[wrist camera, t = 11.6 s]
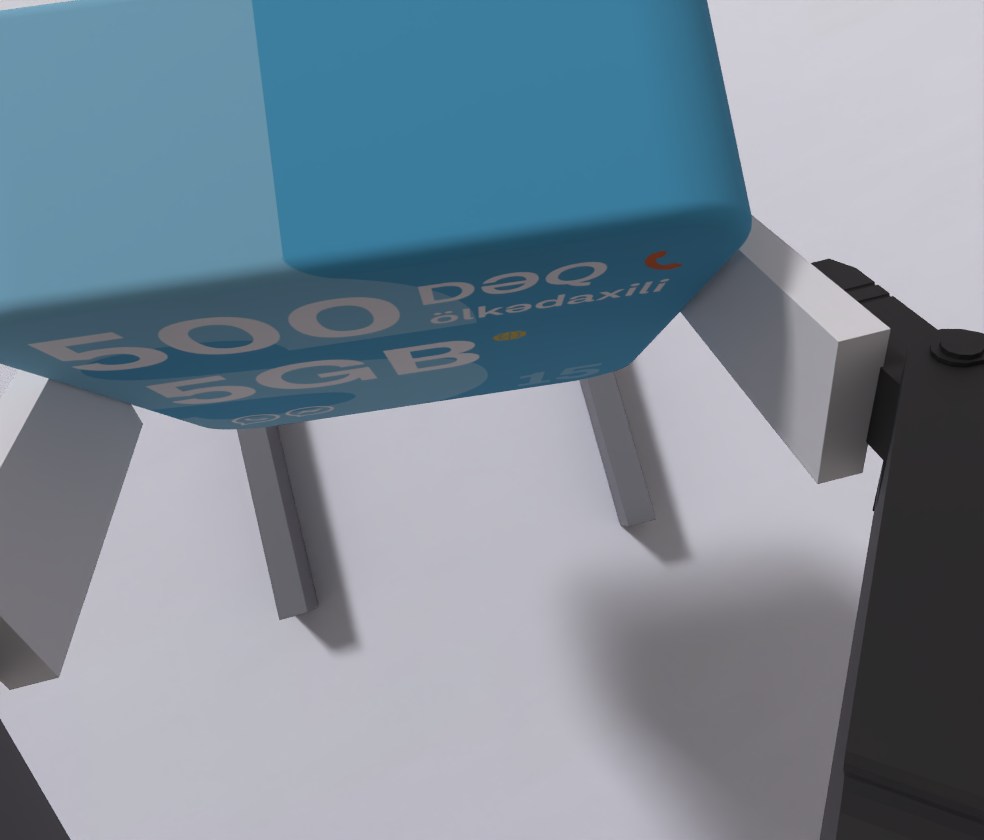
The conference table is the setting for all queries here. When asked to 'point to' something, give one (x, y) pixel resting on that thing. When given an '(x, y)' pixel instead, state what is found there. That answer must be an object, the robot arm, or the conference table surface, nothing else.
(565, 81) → the data package
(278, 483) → the grey u-shaped frame
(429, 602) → the conference table surface
